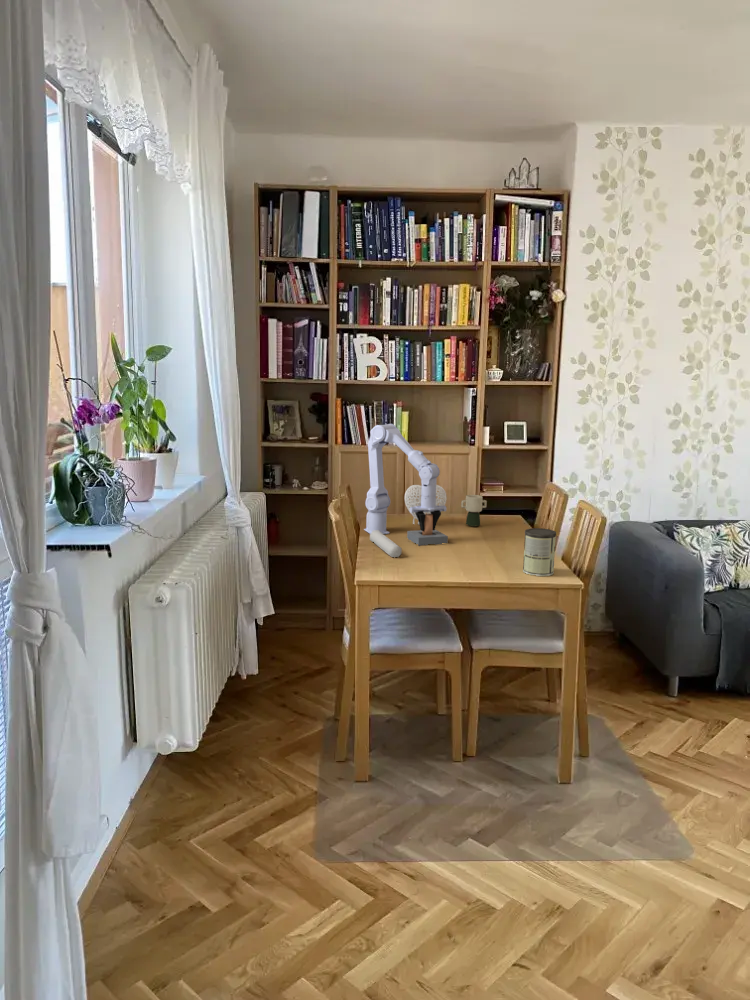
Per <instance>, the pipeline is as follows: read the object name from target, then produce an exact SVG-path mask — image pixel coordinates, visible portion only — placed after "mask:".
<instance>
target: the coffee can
mask: <svg viewBox="0 0 750 1000" xmlns="http://www.w3.org/2000/svg"><path fill="white" fill-rule="evenodd" d="M556 537H557V531H555V530H552V529H548V528H539V527H537V528H535V527H532V528H527V529H525V530H524V545H523V547H524V548H523V551H524V552H523V567H522V573H523V574H525V573H526V575H528V574H530V575H529V576H532V575H536V576H535V577H549V576H553V575H554V572H555V571H554V569H555V555H556V554H555V551H556V540H557V539H556Z"/></svg>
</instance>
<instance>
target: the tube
mask: <svg viewBox="0 0 750 1000" xmlns="http://www.w3.org/2000/svg"><path fill="white" fill-rule="evenodd" d="M369 541H371V543H373V542H374V543H373V544H374V545H376V546H377V547H379V548H380V549H381V550H382V551H383V552H385V553H386V554H387V555H388V556H390V557H391V558H392V557H394V558H393V559H396V558H395V557H397V558H400V556H401V555H402V547H401V546H399V545H398V544H397V543H395V542H394V541H393V540H391V539H390V538H389V537H388V536H386V534H383V533H382V532H380V531H379V530H373V531H372V533H371V534H369Z"/></svg>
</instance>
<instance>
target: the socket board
mask: <svg viewBox="0 0 750 1000" xmlns="http://www.w3.org/2000/svg"><path fill="white" fill-rule="evenodd" d="M406 534H407V535H406V536H407V537H406V538H408V540H409V541H410V540H411V541H410V542H412V543H414V544H415V543H416V544H415V545H417V544H418V545H417V546H429V545H428V544H435V545H443V544H442V543H449V542H448V539H449V536H448V535H447V534H444V533H443V532H442V531H439V530H437V529H435V530H433V535H424V536H423V535H422V530H407V533H406Z"/></svg>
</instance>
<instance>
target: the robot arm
mask: <svg viewBox="0 0 750 1000" xmlns="http://www.w3.org/2000/svg"><path fill="white" fill-rule="evenodd" d="M369 432H370V436H369V439H368V442H367V448H368V449H367V450H368V451H367V452H368V466H369V467H368V468H369V486H370V488H369V489H368V491H367V492H366V498H365V504H364V505H365V507H366V509H367V513H366V519H365V520H366V521H365V522H366V525H365V526H366V527H365V528H363V530H364V531H365V532H367V533H368V534H369V535H370V534H371V533H372V531H373V530H379V531H380V532H382V533H383V535H388V534H390V531H388V530H387V515H388V513H387V511H388V508H389V507H390V506H391V498H390V496H389V490H388V489H387V488H386V487H385V482H384V481H385V479H384V462H383V461H384V460H383V447H385V445H386V444H387V443H392V444H394V445H395V446H397V447H398V448H399V450H401V451H402V452H403V453H404V454H405V455H406V456H407V461H408V463H410V464H411V465H412V467H413V468H415V469H416V470H417V472H418V476H419V478H420V483H421V486H422V487H421V488H420V489H421V493H420V494H421V495H420V496H421V498H420V499H421V506H416V507H410V512H411V513H414V512H415V514H416V516H417V518H418V520H417V521H418V522H419V524H418V525H419V528H420V530H422V531H424V522H425V516H426V515H425V514H424V513H423V512H430V513H431V514H433V530H436V526H437V523H438V521H439V519H440V518H441V515H442V512H447V506H446V505H445V506H441V505H440V506H436V498H437V496H436V495H437V493H436V485H437V482H438V481H437V480H438V479H437V478H438V477H439V475H440V473H441V471H440V467H439V466H438V464H436V463H432V461H431V460H430V459H427V457H426V456H425V455H424V452H423V451H422V450H421V451H420V450H418V449H414V448H413V447H412V445H411V444H410V443H409V442H408V441H407V439H406V438H405V437H404V436H403V435H402V433H401V431H400V429H399V428H398V427H396V425H395V424H393V423H388V424H377V425H374V427H373V428H371V430H370V431H369ZM440 511H441V512H440ZM410 512H409V513H410ZM411 513H410V514H411Z"/></svg>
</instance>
